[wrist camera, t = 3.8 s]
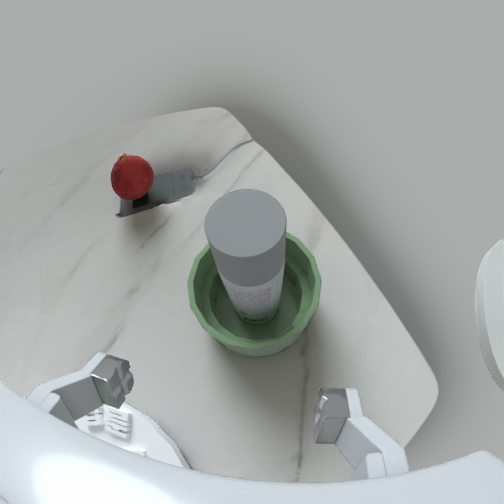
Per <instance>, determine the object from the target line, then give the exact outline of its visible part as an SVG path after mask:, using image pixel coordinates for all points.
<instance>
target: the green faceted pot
mask: <svg viewBox="0 0 504 504" xmlns="http://www.w3.org/2000/svg"><path fill="white" fill-rule="evenodd" d="M320 289H321V277H320V274H319V270H318V267H317V264H316V261H315V258H314V256H313V255H312V254H311V253H310V251H309V250H308V249H307V248H306V247H305V245H304V244H303V243H302V242H301V241H300V240H299V239H298V238H296V237H295V236H293V235H291V234H289V233H287V232H286V245H285V265H284V274H283V282H282V290H281V298H280V306H279V310H278V312H277V314H276V316H275V317H274V318H273V319H272V320H271V321H269V322H267V323H265V324H262V325H252V324H248V323H246V322H244V321H243V320H241V319H240V318H239V316H238V315H237V313H236V311H235V309H234V307H233V305H232V302H231V300H230V298H229V295H228V293H227V291H226V288H225V286H224V284H223V281H222V279H221V277H220V274H219V272H218V269H217V266H216V263H215V260H214V257H213V254H212V251H211V248H210V245H209V242H208V243H207V245H206V246H205V247H204V248H203V249H202V251H201V252H200V253H199V254H198V256H197V257H196V258H195V260H194V263H193V266H192V269H191V272H190V276H189V279H188V291H189V301H190V307H191V309H192V310H193V312H194V314H195V316H196V317H197V319H198V321H199V322H200V324H201V326H202V327H203V328H204V330H206V331H207V332H208V333H209V334H210V335H211V336H212V337H213V338H214V339H215V340H217V341H218V342H219V343H221V344H222V345H224V346H225V347H226V348H228V349H229V350H231V351H232V352H235V353H237V354H242V355H247V356H252V357H261V356H266V355H271V354H276V353H279V352H281V351H282V350H284V349H285V348H287V347H288V346H290V345H291V344H292V343H294V342H295V341H297V340H298V338H299V336H300V335H301V333H302V332H303V330H304V329H305V327H306V325H307V324H308V322H309V320H310V319H311V317H312V315H313V314H314V312H315V310H316V309H317V307H318V305H319V297H320Z"/></svg>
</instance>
